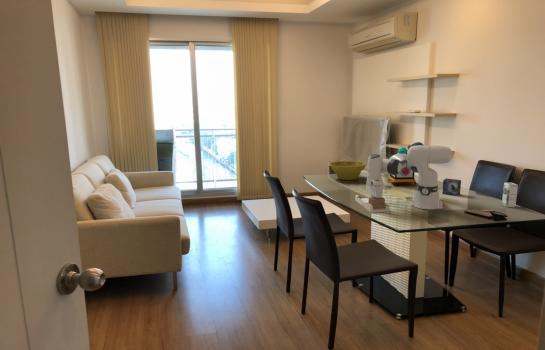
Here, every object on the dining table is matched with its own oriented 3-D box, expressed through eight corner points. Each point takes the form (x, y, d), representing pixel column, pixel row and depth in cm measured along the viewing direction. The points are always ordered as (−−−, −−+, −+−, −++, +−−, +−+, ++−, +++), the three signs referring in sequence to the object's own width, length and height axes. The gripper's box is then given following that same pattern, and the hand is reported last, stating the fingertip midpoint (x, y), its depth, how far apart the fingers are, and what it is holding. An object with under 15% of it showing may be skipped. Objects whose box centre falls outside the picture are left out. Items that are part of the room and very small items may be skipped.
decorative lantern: (418, 186, 304) (420, 148, 298) (392, 186, 304) (393, 148, 299) (409, 181, 324) (411, 145, 318) (385, 181, 324) (386, 145, 318)
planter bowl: (324, 176, 353) (325, 161, 350) (359, 174, 356) (359, 159, 354) (334, 183, 321) (334, 167, 319) (372, 181, 325) (372, 165, 322)
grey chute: (355, 200, 268) (355, 194, 267) (372, 199, 269) (372, 193, 268) (370, 212, 239) (370, 205, 238) (389, 211, 240) (389, 204, 239)
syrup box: (501, 204, 248) (503, 182, 245) (510, 204, 248) (513, 182, 245) (506, 207, 243) (508, 184, 240) (516, 207, 242) (518, 184, 240)
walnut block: (368, 206, 247) (368, 197, 246) (380, 205, 248) (381, 196, 247) (371, 209, 241) (371, 199, 240) (384, 208, 242) (384, 199, 241)
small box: (441, 194, 279) (442, 179, 277) (445, 192, 284) (446, 178, 282) (457, 196, 272) (458, 181, 270) (460, 194, 277) (461, 179, 275)
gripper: (363, 177, 257) (363, 197, 260) (374, 183, 237) (374, 205, 240) (373, 176, 257) (372, 197, 260) (384, 183, 237) (384, 205, 240)
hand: (373, 201), depth 250 cm, fingers closed
